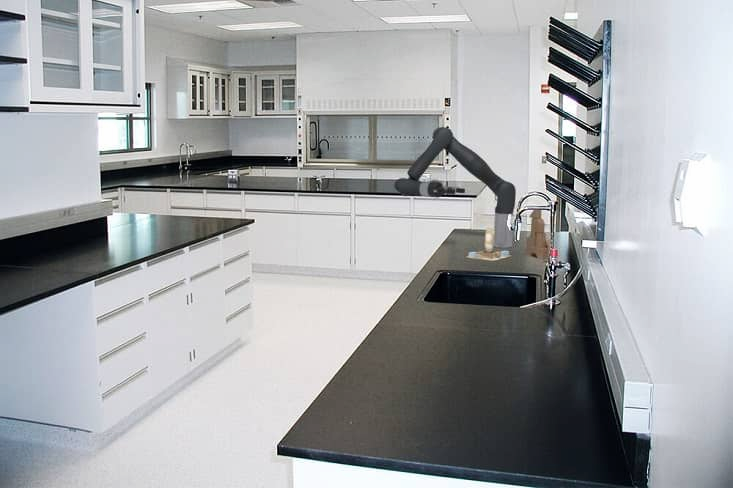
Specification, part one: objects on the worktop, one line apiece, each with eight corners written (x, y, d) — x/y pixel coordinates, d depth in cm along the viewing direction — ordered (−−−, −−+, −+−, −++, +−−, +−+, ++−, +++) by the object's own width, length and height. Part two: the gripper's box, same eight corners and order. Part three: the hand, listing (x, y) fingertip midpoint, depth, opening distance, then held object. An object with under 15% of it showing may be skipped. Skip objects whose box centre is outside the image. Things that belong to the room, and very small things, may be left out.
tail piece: (473, 256, 328) (473, 251, 327) (477, 256, 326) (478, 252, 326) (468, 257, 325) (468, 252, 324) (473, 257, 323) (473, 253, 323)
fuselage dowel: (487, 255, 328) (488, 228, 326) (494, 257, 326) (496, 229, 323) (482, 257, 325) (483, 228, 323) (490, 258, 323) (491, 229, 320)
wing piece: (504, 254, 332) (504, 250, 332) (509, 255, 330) (509, 251, 330) (497, 256, 327) (498, 252, 327) (502, 257, 326) (502, 252, 326)
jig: (485, 254, 339) (485, 247, 338) (511, 258, 330) (512, 250, 330) (465, 259, 325) (465, 251, 325) (492, 263, 317) (492, 255, 316)
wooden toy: (554, 261, 323) (557, 207, 319) (541, 262, 321) (544, 207, 317) (535, 255, 337) (538, 203, 333) (523, 256, 335) (525, 203, 331)
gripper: (422, 182, 338) (451, 184, 328) (439, 180, 349) (468, 182, 339) (422, 197, 339) (451, 200, 329) (439, 196, 350) (467, 198, 340)
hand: (459, 191), depth 334 cm, fingers open, 8 cm apart
